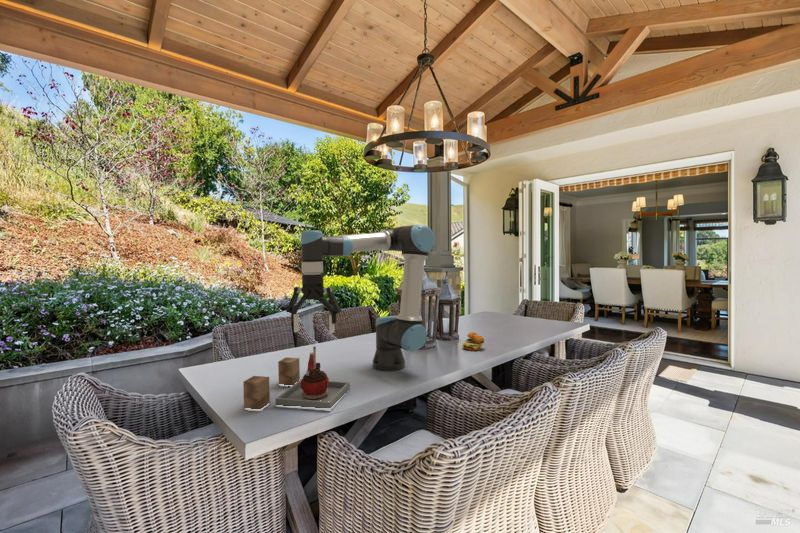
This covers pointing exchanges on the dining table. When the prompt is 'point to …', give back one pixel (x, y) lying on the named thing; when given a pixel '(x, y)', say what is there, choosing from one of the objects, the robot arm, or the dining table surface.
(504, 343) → the dining table surface
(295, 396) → the tray
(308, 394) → the cake
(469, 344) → the cheeseburger
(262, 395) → the left walnut block
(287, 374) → the right walnut block
